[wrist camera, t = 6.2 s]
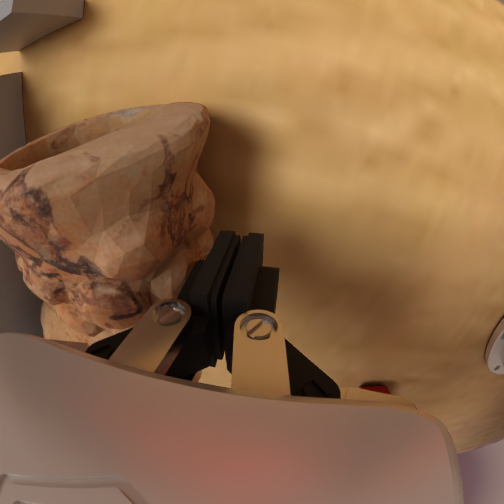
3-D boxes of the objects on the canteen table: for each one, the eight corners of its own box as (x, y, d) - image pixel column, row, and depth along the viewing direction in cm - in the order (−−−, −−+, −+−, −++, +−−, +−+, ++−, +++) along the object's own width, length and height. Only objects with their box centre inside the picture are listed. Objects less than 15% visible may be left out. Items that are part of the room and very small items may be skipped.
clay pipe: (296, 213, 20) (170, 14, 10) (324, 363, 12) (37, 31, 3) (112, 290, 26) (-1, 188, 16) (87, 394, 19) (-68, 292, 9)
